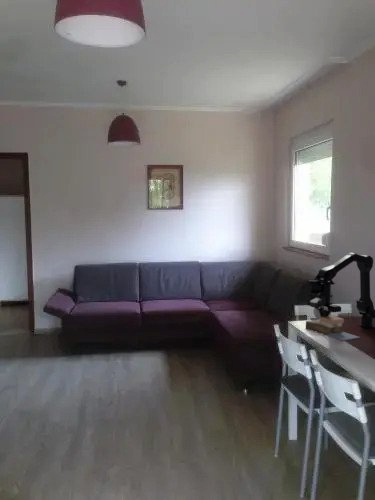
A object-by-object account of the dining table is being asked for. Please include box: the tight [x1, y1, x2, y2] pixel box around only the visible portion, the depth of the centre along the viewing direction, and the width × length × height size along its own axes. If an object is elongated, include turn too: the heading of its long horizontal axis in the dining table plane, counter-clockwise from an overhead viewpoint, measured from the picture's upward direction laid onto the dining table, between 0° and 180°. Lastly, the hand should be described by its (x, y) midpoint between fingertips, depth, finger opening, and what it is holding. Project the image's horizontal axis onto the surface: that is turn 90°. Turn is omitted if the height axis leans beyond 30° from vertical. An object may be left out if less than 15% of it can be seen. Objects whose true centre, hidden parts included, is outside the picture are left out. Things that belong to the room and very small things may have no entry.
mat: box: [325, 331, 361, 342], centre depth 228 cm, size 12×11×1 cm
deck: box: [305, 319, 343, 336], centre depth 239 cm, size 12×14×4 cm
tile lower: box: [319, 320, 343, 328], centre depth 235 cm, size 8×8×2 cm
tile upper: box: [321, 315, 345, 324], centre depth 234 cm, size 8×8×2 cm
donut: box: [312, 306, 332, 320], centre depth 262 cm, size 10×4×10 cm, turn 72°
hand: (323, 321), depth 239 cm, fingers closed
